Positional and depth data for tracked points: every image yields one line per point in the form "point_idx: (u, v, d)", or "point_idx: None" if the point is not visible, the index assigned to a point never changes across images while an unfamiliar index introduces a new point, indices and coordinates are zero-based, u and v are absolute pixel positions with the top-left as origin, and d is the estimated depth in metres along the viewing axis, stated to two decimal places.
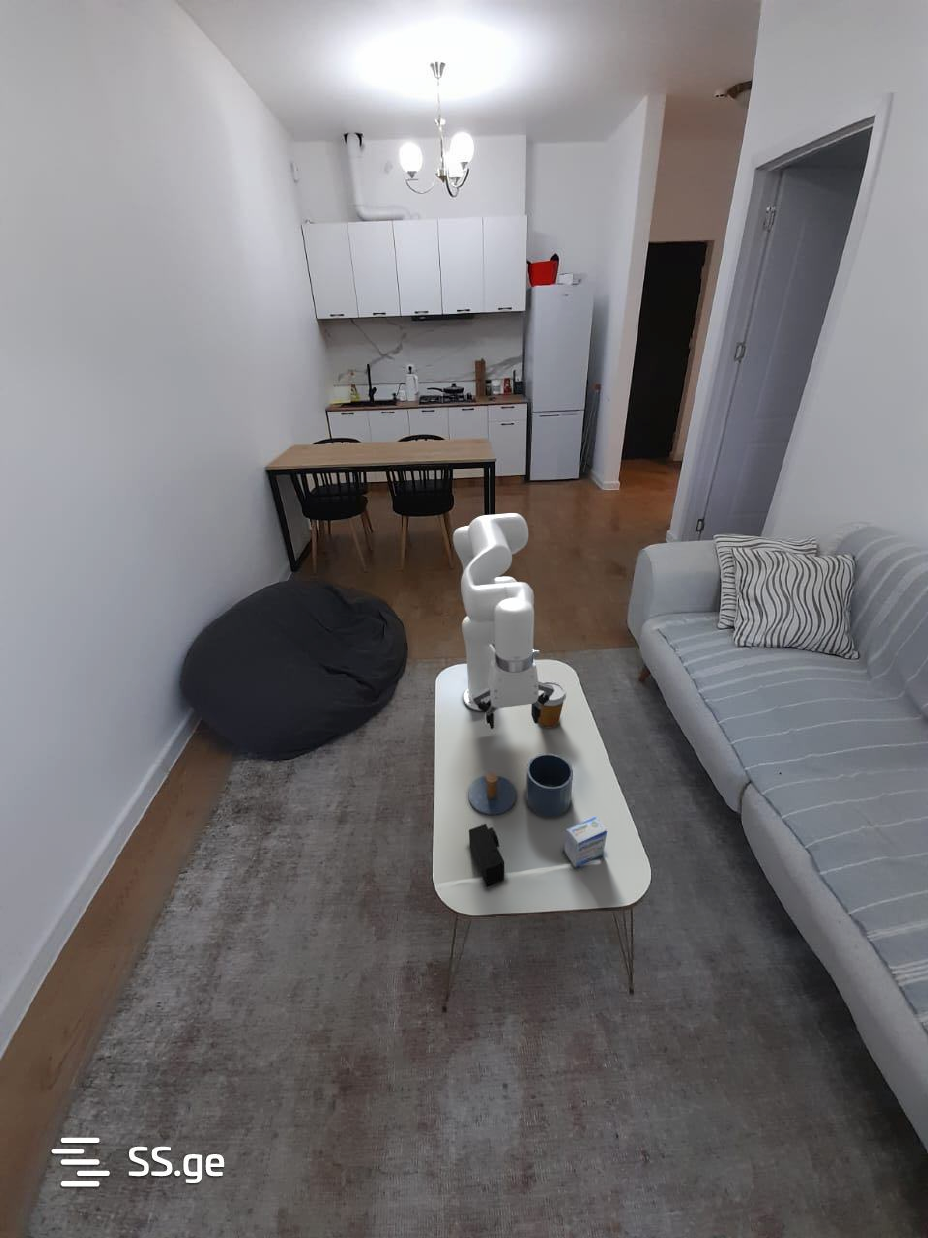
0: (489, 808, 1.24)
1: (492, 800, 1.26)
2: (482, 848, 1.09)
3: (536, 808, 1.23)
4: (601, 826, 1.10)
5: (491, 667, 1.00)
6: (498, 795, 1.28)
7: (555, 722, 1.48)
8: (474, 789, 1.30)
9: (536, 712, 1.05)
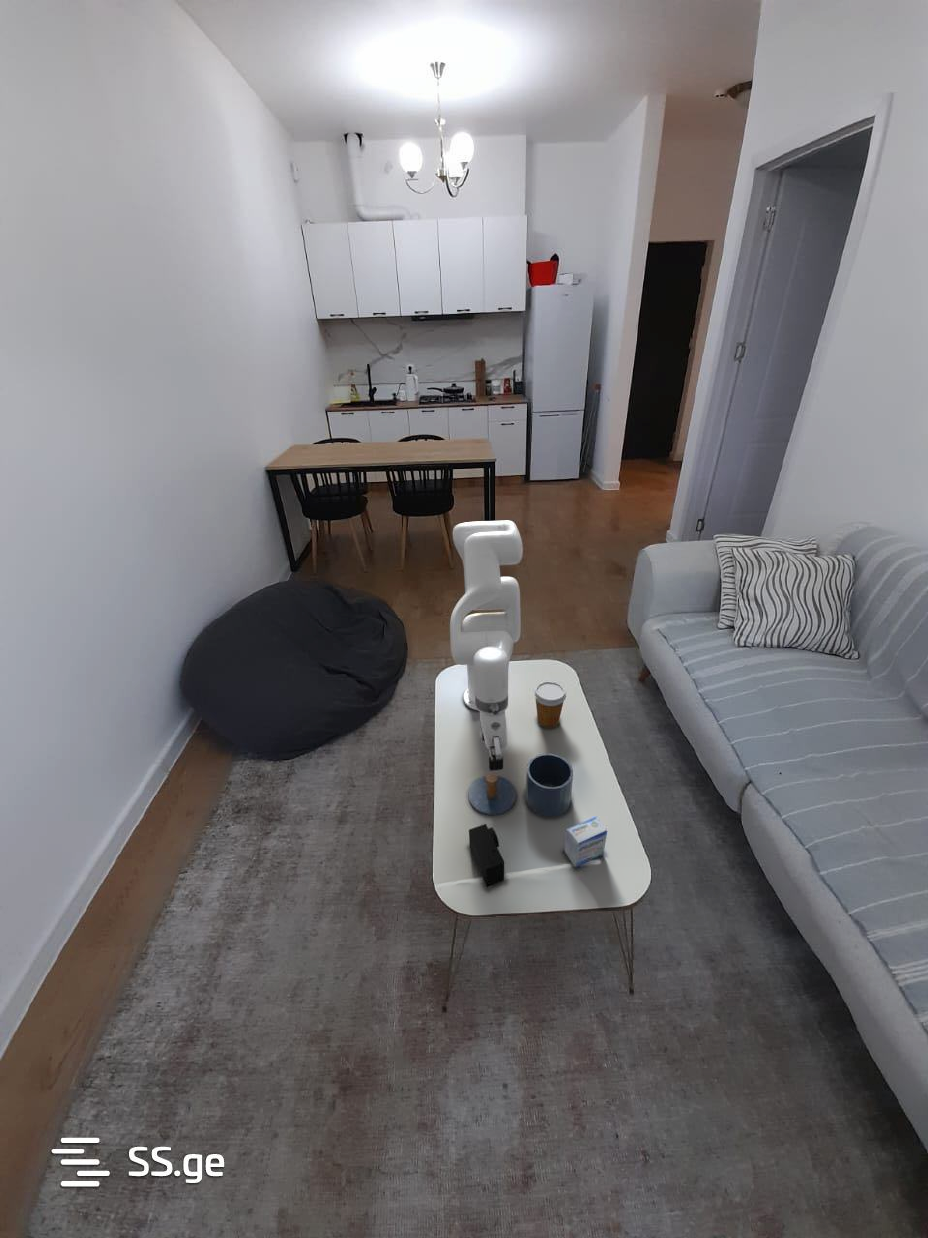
0: (489, 808, 1.24)
1: (492, 800, 1.26)
2: (482, 848, 1.09)
3: (536, 808, 1.23)
4: (601, 826, 1.10)
5: None
6: (498, 795, 1.28)
7: (555, 722, 1.48)
8: (474, 789, 1.30)
9: (489, 759, 1.14)
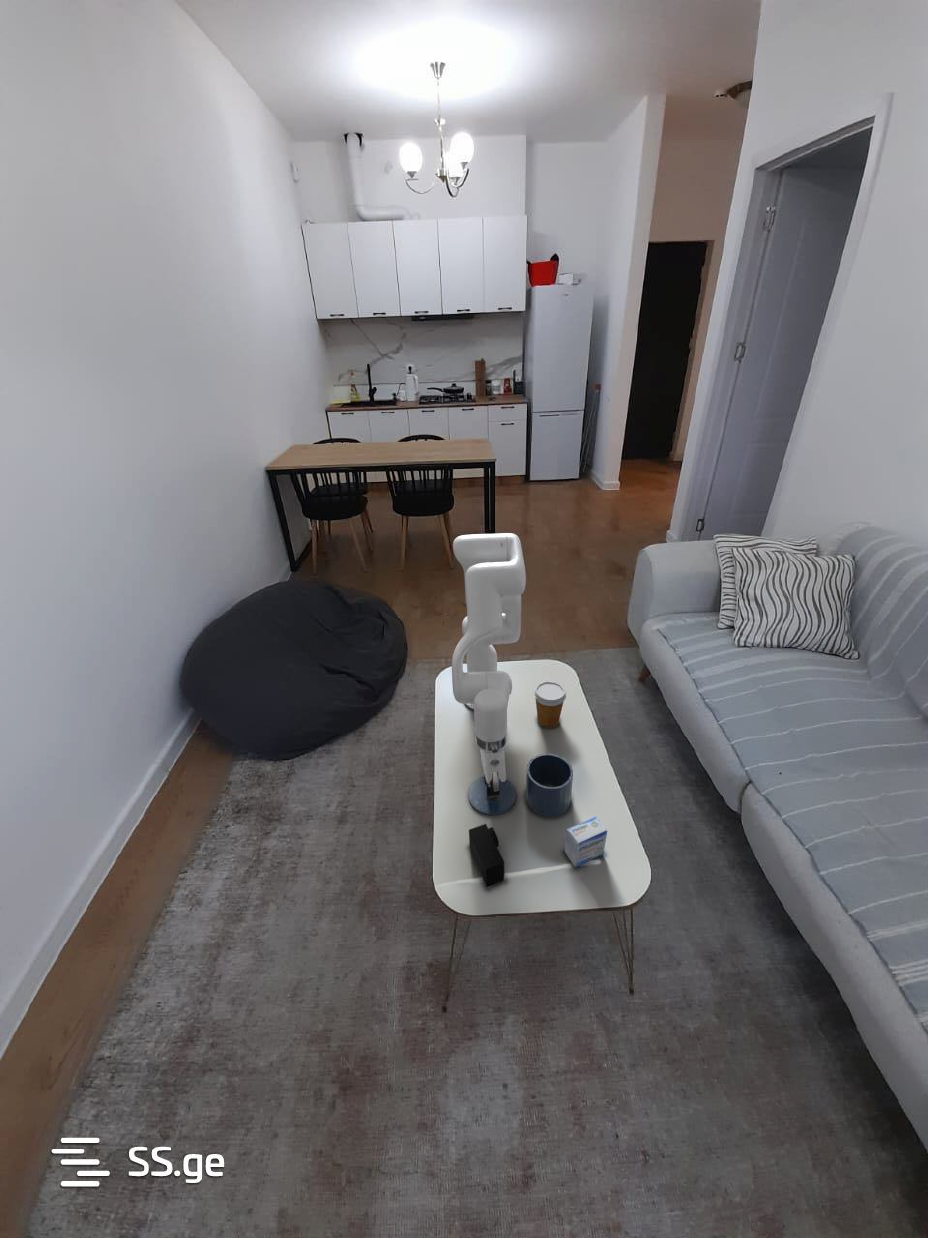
0: (489, 808, 1.24)
1: (492, 800, 1.26)
2: (482, 848, 1.09)
3: (536, 808, 1.23)
4: (601, 826, 1.10)
5: None
6: (498, 795, 1.28)
7: (555, 722, 1.48)
8: (474, 789, 1.30)
9: None
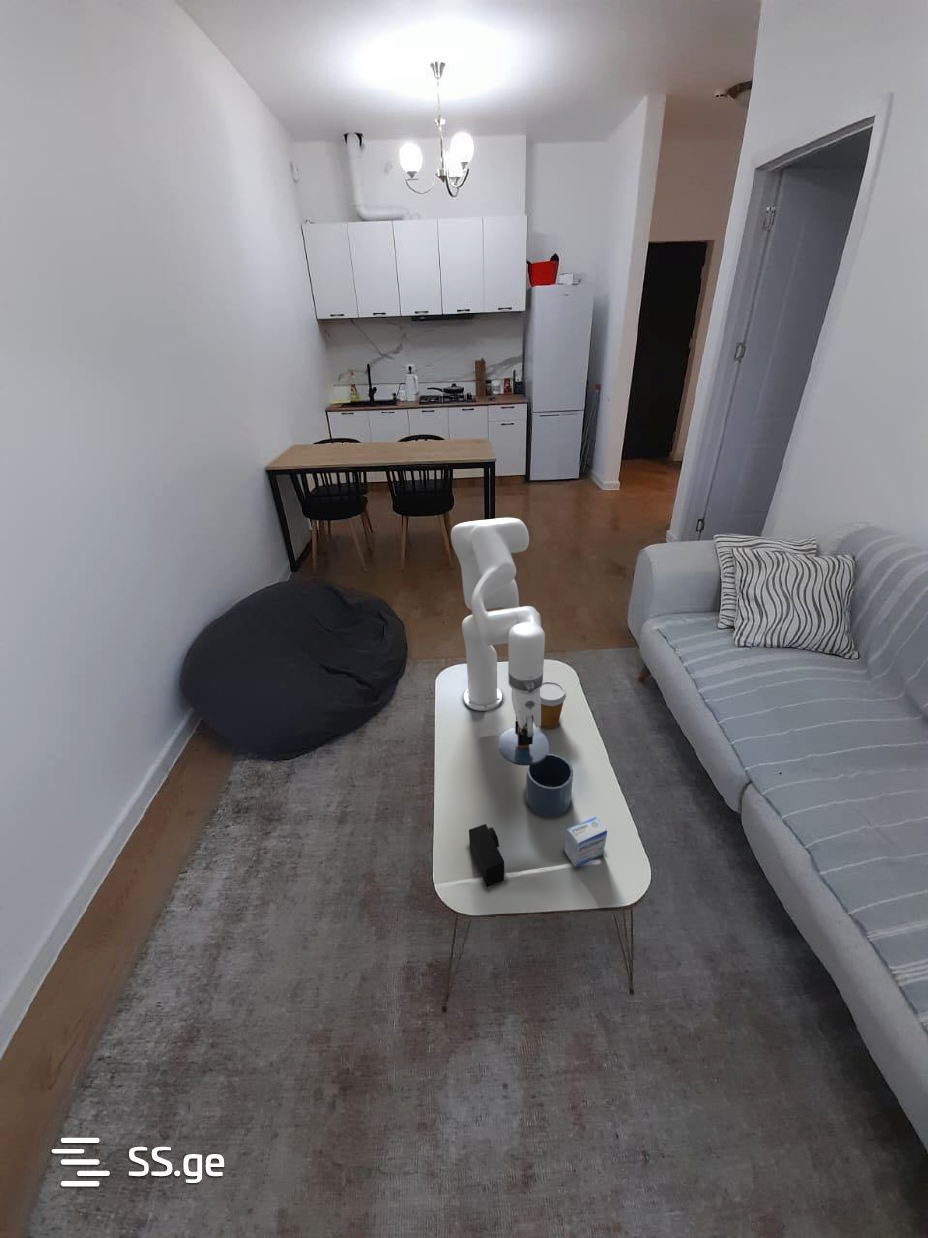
0: (521, 758, 1.14)
1: (523, 750, 1.16)
2: (482, 848, 1.09)
3: (536, 808, 1.23)
4: (601, 826, 1.10)
5: None
6: (530, 745, 1.18)
7: (555, 722, 1.48)
8: (503, 739, 1.20)
9: None
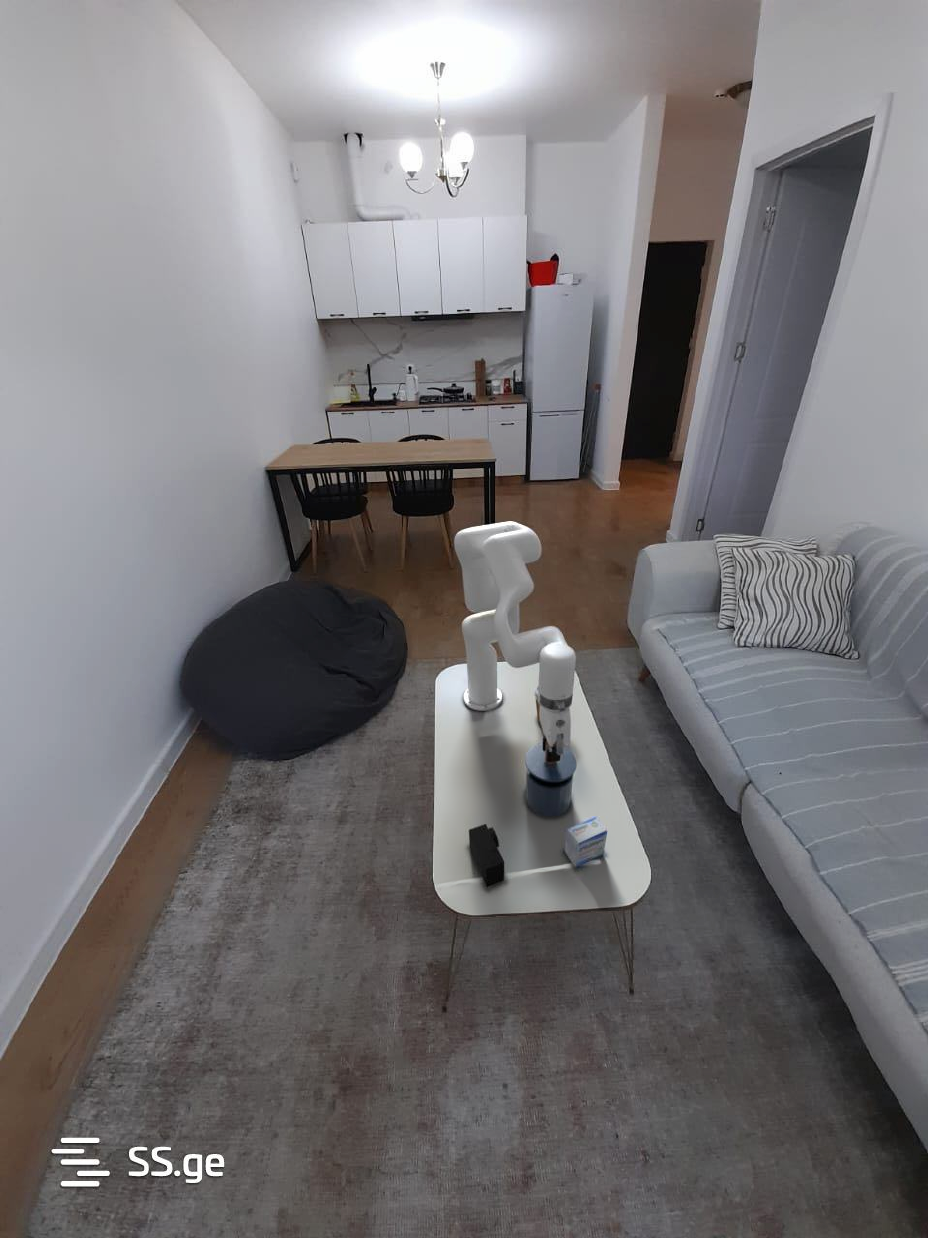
0: (549, 775, 1.16)
1: (551, 766, 1.18)
2: (482, 848, 1.09)
3: (536, 808, 1.23)
4: (601, 826, 1.10)
5: None
6: (557, 762, 1.20)
7: None
8: (531, 756, 1.22)
9: (547, 751, 1.16)
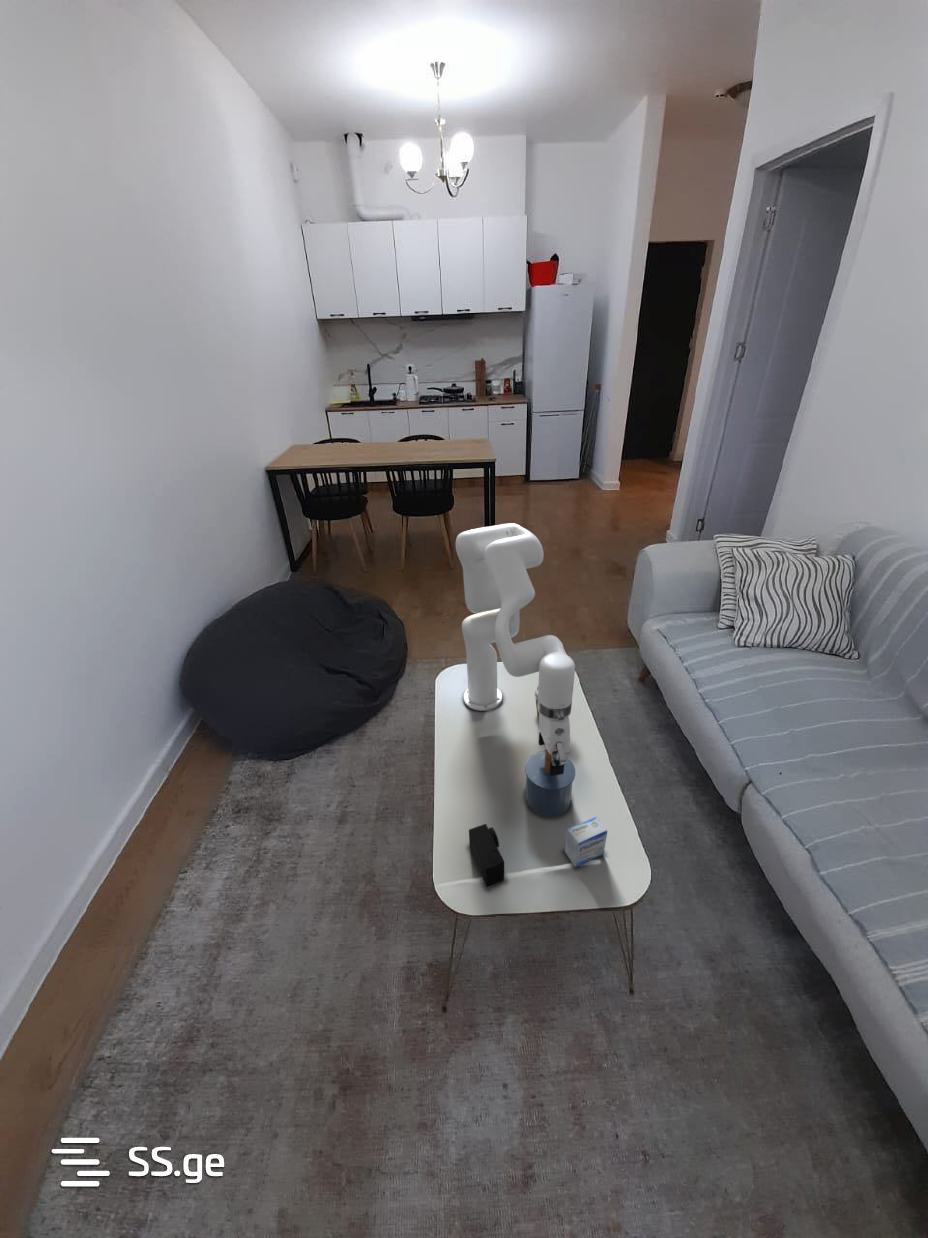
0: (549, 783, 1.18)
1: (550, 775, 1.20)
2: (482, 848, 1.09)
3: (536, 808, 1.23)
4: (601, 826, 1.10)
5: None
6: None
7: None
8: (530, 764, 1.23)
9: (550, 764, 1.14)
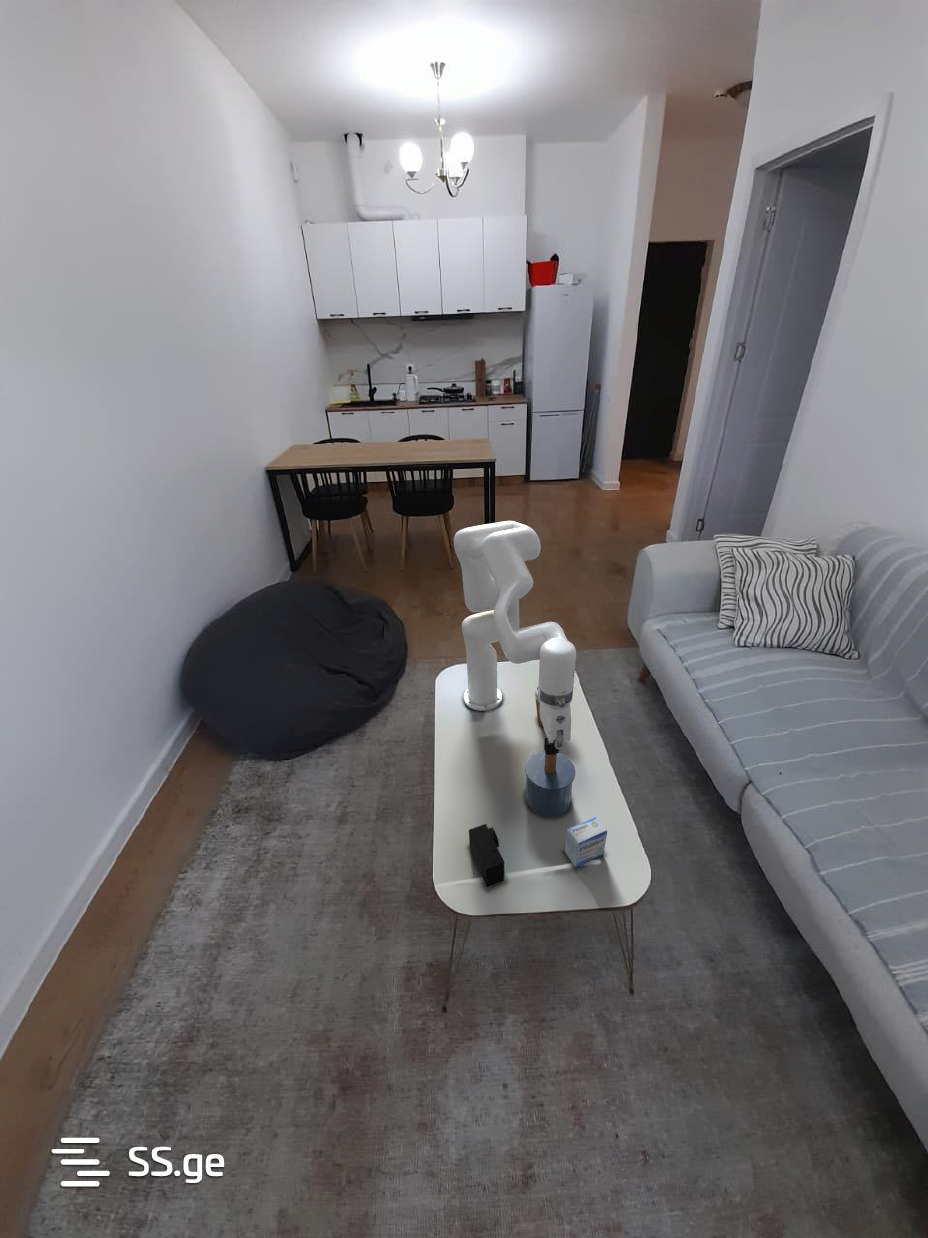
0: (549, 783, 1.18)
1: (550, 775, 1.20)
2: (482, 848, 1.09)
3: (536, 808, 1.23)
4: (601, 826, 1.10)
5: None
6: (557, 770, 1.21)
7: None
8: (530, 764, 1.23)
9: (546, 743, 1.16)
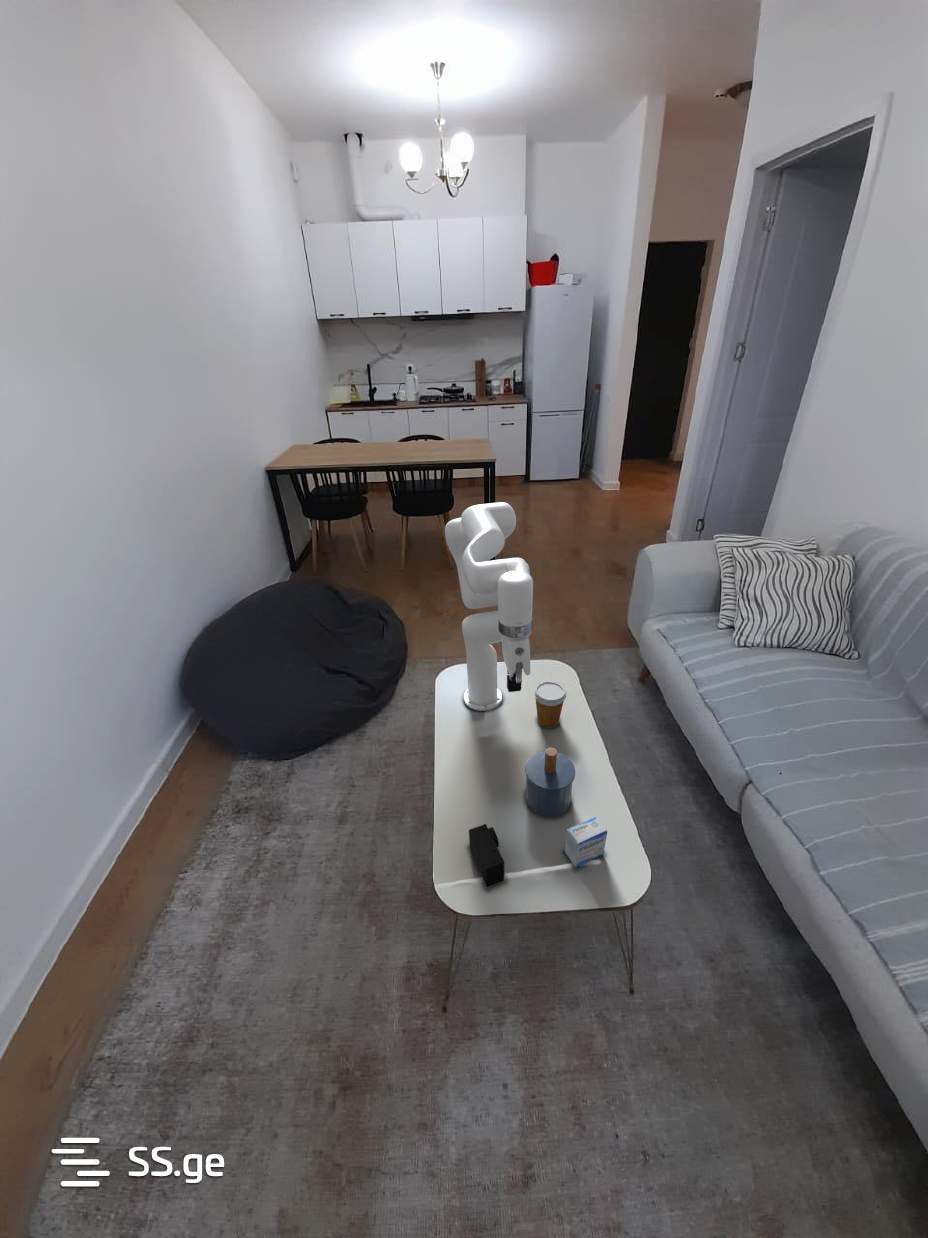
0: (549, 783, 1.18)
1: (550, 775, 1.20)
2: (482, 848, 1.09)
3: (536, 808, 1.23)
4: (601, 826, 1.10)
5: None
6: (557, 770, 1.21)
7: (555, 722, 1.48)
8: (530, 764, 1.23)
9: (508, 680, 1.18)
